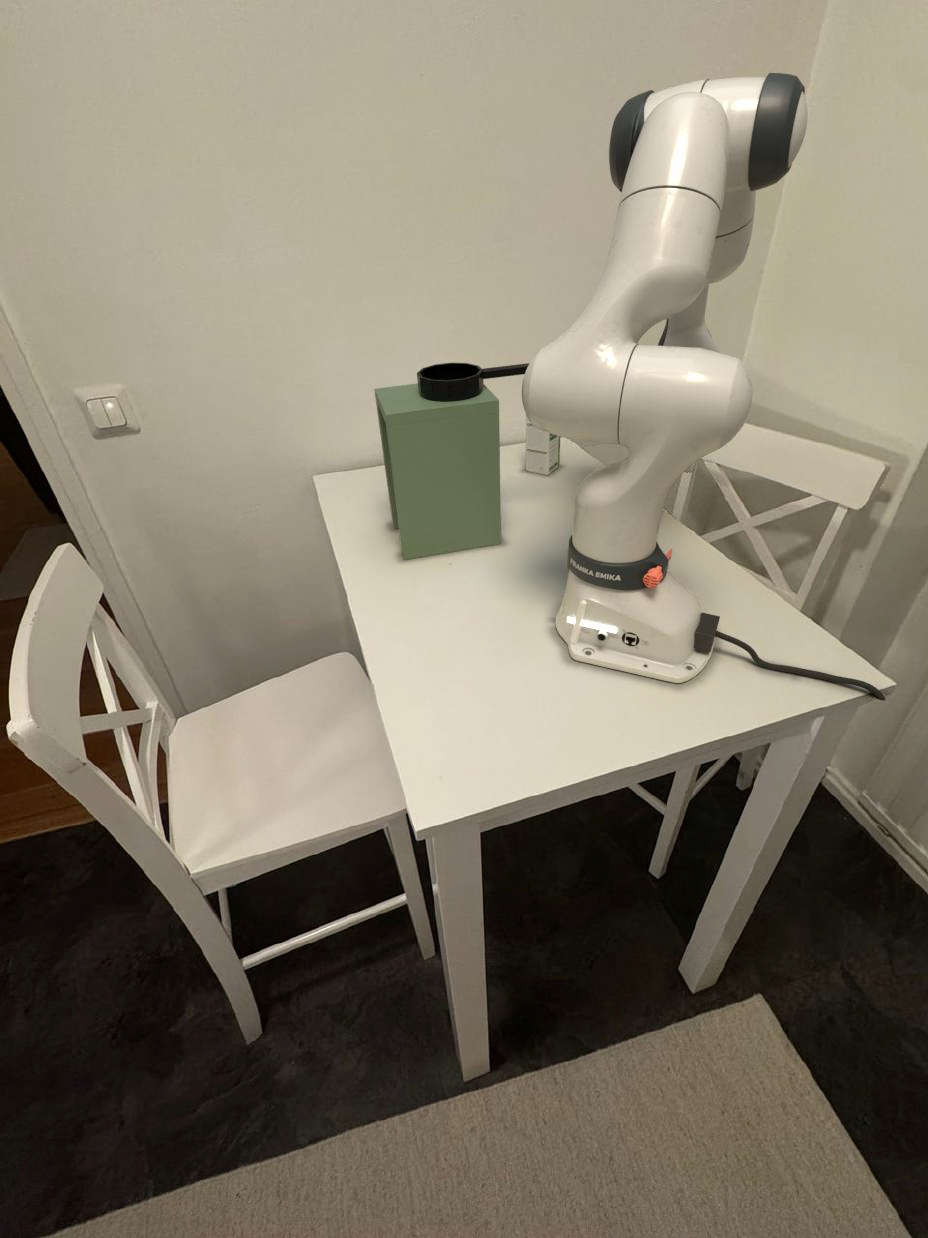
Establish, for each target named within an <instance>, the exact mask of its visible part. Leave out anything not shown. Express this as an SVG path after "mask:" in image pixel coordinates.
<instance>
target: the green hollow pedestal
mask: <svg viewBox="0 0 928 1238" xmlns="http://www.w3.org/2000/svg"><path fill="white" fill-rule="evenodd" d="M373 389H374V397H375V405H376V412H377V420H378V427H379V434H380V441H381V448H382V456H383V465H384V470H385V472H384V473H385V478H386V485H387V492H388V500H389V501H388V502H389V508H390V509H389V510H390V514H391V515H390V517H391V521H392V522H391V523H392V528H393V529H394V530H396V529H397V530H398V531H399V539H400V546H401V552H402V553H401V554H402V558H403V560H404V561H407V560H412V559H414V560H415V559H418V558H425V557H426V558H427V557H432V556H437V555H443V554H448V553H454V552H460V551H461V552H462V551H466V550H471V549H472V550H473V549H478V548H483V547H484V548H485V547H489V546H495V545H501V544H502V531H501V530H502V522H501V521H502V517H501V516H502V515H501V512H502V511H501V510H502V508H501V449H500V447H501V445H500V443H501V442H500V441H501V439H500V435H501V434H500V399H499V398H498V397H497V396H496V395H495V394H494V393H493V392H492V391H491V390H490V388H488V386H487V385H485V384H484V383H483V391H482V393H481V394H480V395H478V396H476V397H474V398H471V399H467V400H462V401H453V402H438V401H431V400H427V399H424V398H422V397H421V396H420V394H419V389H418V382H417V383H409V384H402V385H393V386H385V387H378V388H373Z"/></svg>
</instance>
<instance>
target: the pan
mask: <svg viewBox="0 0 928 1238" xmlns="http://www.w3.org/2000/svg"><path fill="white" fill-rule="evenodd" d="M529 364H530V362H526V363H518V364H510V365H500V366H494V367H483V368H482V367H480V365H477V364H474V363H473V364H472V363H468V362H445V363H443V362H442V363H435V364H431V365H428V366H425V367H422V368H421V369H420V370H419V371H417V372H416V380H417V383H418V389H419V394H420V396H421V397H422V398H424V399H427V400H431V401H438V402H453V401H462V400H467V399H471V398H474V397H476V396H478V395H480V394H481V393H482V391H483V384H484V380H488V379H489V380H490V379H496V378H497V379H498V378H504V377H505V378H506V377H512V376H513V377H514V376H521V375H525V372H526V370H527V368H528V365H529Z"/></svg>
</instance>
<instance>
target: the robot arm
mask: <svg viewBox="0 0 928 1238" xmlns="http://www.w3.org/2000/svg"><path fill="white" fill-rule="evenodd" d="M805 88H806V87H805V86H804V84H803V83H802V81H801V80H800V78H799V77H798V75H794V74H789V73H782V72H769V73H768V74H767V75H766V76H736V77H723V78H715V79H710V78H704V79H697V80H693V81H688V82H684V83H680V84H678V85H677V84H676V85H673V86H670V87H667V88H664V89H661V90H658V91H654V90H653V89H650V90H646V91H644V92H640V93H639V94H636V95H635V96H633V97H631V98H629V99H628V100H626V102H625V103H624V104H623V105H622V107H621V108H620V110H619V111H618V113H616V115H615V118H614V120H613V123H612V127H611V131H610V132H611V133H610V138H609V143H608V163H609V172H610V179H611V181H612V183H613V185H614V186H615V188H616V189H617V190H618V191H619V192H620V198H619V201H618V206H617V211H616V216H615V222H614V227H613V231H612V235H611V241H610V245H609V248H608V253H607V256H606V261H605V263H604V267H603V271H602V275H601V278H600V281H599V283H598V286H597V288H596V290H595V292H594V294H593V295H592V297H591V299H590V301H589V302H588V303H587V306H586V307H585V308H584V309H583V312H582V313H581V314H580V315H579V316H578V318H577V319H576V320H575V321H574V322H573V323H572V324H571V326H570V327H568V328H567V330H566V331H565V332H563V333H562V334H561V335H560V336H558V337H557V338H556V339H555V340H553V341H552V342H550V343H549V344H547V345H545V346H543V347H542V348H540V350H538V352H536V354H535V355H534V356H533V358H532V359H531V360H530V362H529V363H530V364H529V365H528V368H527V370H526V372H525V374H523V375H524V376H523V378H522V384H521V400H522V406H523V409H524V413H525V416H526V415H527V417H528V419H529V421H530V422H531V424H532V425H533V426H534V427H535V428H537V429H540V430H543V431H545V432H548V433H551V434H554V435H557V436H560V438H565V439H567V440H572V441H573V440H574V441H582V442H592V443H602V444H609V445H610V444H611V445H619V446H621V447H625V448H626V449H627V450H628V456H626V457H625V458H623V459H621V460H618V461H616V462H613V463H610V464H607V465H604V466H601V467H600V468H597V469H595V470H594V471H592V472H590V473H589V474H587V475H586V476H585V477H584V478H583V479H582V480H581V481H580V483H579V484H578V486H577V488H576V491H575V495H574V507H573V520H572V521H573V523H572V535H570V536H569V540H568V547H567V552H566V553H567V554H566V571H567V582H566V585H565V589H564V594H563V598H562V601H561V604H560V607H559V609H558V612H557V613H556V616H555V623H554V624H555V628H556V631H557V633H558V634H559V636H560V637H561V638H562V640H563V641H564V642H565V644H566V645H567V648H568V652H569V656H570V658H572V659H573V660H575V661H577V662H580V663H586V664H589V665H595V666H598V667H603V668H607V669H611V670H616V671H621V672H625V673H629V674H633V675H638V676H643V677H647V678H650V679H655V680H659V681H660V680H661V681H664V682H669V683H674V684H682V683H685V682H688V681H689V680H692V679H694V678H695V677H696V676H697V675H699V674H700V673H701V671H703V669H704V668H705V667H706V666H707V664H708V662H709V661H710V659H711V657H712V654H713V651H714V647H715V642H716V638H718V639H721V640H723V641H725V642H728V643H731V644H733V645H735V646H737V647H739V648H741V649H743V650H744V651H746V652H747V653H748V654H749V655H750V657H751V659H752V660H753V661H754V663H755V664H757V665H758V666H760V667H762V668H764V669H767V670H770V671H777V672H784V673H785V672H786V673H792V674H797V675H802V676H806V677H812V678H817V679H821V680H825V681H829V682H833V683H839V684H844V685H850V686H854V687H859V688H862V689H865V690H866V691H868V692H869V693H871V694H872V695H874V697H875V698H876V699H877V700H879V701H886V697H885V696H884V694H883V693H882V692H881V691H880V690H879V689H878V688H877V687H876V686H874V685H873V684H871V683H869V682H867V681H864V680H861V679H856V678H850V677H844V676H840V675H834V674H829V673H826V672H821V671H817V670H812V669H806V668H802V667H796V666H791V665H785V664H784V665H783V664H776V663H771V662H768V661H765V660H763V659H762V658H760V656H759V655H758V653H757V651H755V649H754V648H753V647H752V646H751V645H750V644H748V643H746V642H744V641H742V640H740V639H739V638H736V637H734V636H731V635H728V634H726V633H724V632H721V631H718V627H719V623H720V619H721V616H720V615H715V614H711V613H706V612H704V611H703V612H702V609H701V604H700V601H699V598H698V597H697V596H696V595H695V594H693V593H692V592H691V591H690V590H689V589H688V588H686V587H685V586H684V585H683V584H682V583H681V582H680V581H679V580H678V579H677V578H676V577H675V576H673V574H672V573H670V572H669V571H668V568H669V561H670V560H671V559H672V554H673V549H672V548H670V549H669V550H668V552H667V553H666V554H665V553H664V552H663V550H662V549H661V546H660V545H659V543H658V535H659V530H660V527H661V526H660V525H661V522H662V517H663V513H664V509H665V506H666V503H667V500H668V498H669V495H670V493H671V492H672V490H673V488H674V486H675V484H676V482H677V481H678V480H679V479H680V478H681V476H682V475H683V474H684V473H685V472H687V470H688V469H690V467H692V466H693V465H694V464H696V463H697V462H698V461H700V460H701V459H702V458H705V457H706V456H708V455H710V454H712V453H713V452H715V451H718V450H721V448H723V447H724V446H726V445H727V444H728V443H730V442H731V441H732V440H733V439H734V438H735V437H736V436H737V435H738V434H739V432H740V431H741V430H742V428H743V427H744V425H745V423H746V422H747V420H748V417H749V416H750V415H749V414H750V413H751V408H752V404H753V397H754V393H753V391H754V390H753V382H752V379H751V376H750V373H749V371H748V368H747V367H746V365H745V363H744V362H743V361H742V360H741V359H740V358H738V357H735V356H732V355H728V354H725V353H722V351H721V350H720V349H719V347H718V346H717V343H716V342H715V341H714V339H713V337H712V334H711V332H710V331H709V328H708V327H707V324H706V319H705V317H706V310H707V302H708V295H709V289H710V288H709V287H710V285H713V284H716V283H719V282H721V281H723V280H725V279H727V278H728V277H730V276H731V275H733V274H734V273H735V272H736V271H737V270H738V269H739V267H740V266H741V265H742V264H743V263H744V261H745V259H746V256H747V254H748V251H749V247H750V243H751V239H752V234H753V227H754V220H755V210H756V201H757V200H756V196H757V191H759V190H762V189H765V188H768V187H771V186H773V185H775V184H777V183H778V182H779V181H781V180H782V179H783V178H784V177H785V176H786V175H787V174H788V173H789V172H790V170H791V168H792V166H793V163H794V161H795V159H796V158H797V157H798V154H799V152H800V150H801V147H802V146H803V142H804V139H805V136H806V132H807V126H808V104H807V99H806V96H805V95H806V89H805ZM663 321H665V325H664V329H663V331H662V333H661V336H660V338H659V341H658V344H657V345H656V344H655V345H654V344H639V342H640V340H641V339H642V337H643V336H644V335H645V334H646V333H647V332H648V331H649V330H650V329H652V328H653V327H654V326H656V325H657V324H659V323H660V322H663Z"/></svg>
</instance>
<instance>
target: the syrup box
mask: <svg viewBox="0 0 928 1238" xmlns="http://www.w3.org/2000/svg"><path fill="white" fill-rule="evenodd" d="M560 458H561V437H560V436H557V435H554V434H551V433H548V432H545V431H543V430H540V429H537V428H535V427H534V426H533V425H532V424H531V422H530V421H529V419H528V417H527V415H526V414H525V471H527V472H530V473H533V474H539V475H544V476H550V474H551V473H552V472H553V471H555V470H556V469H558V467H560V462H561V461H560Z"/></svg>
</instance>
